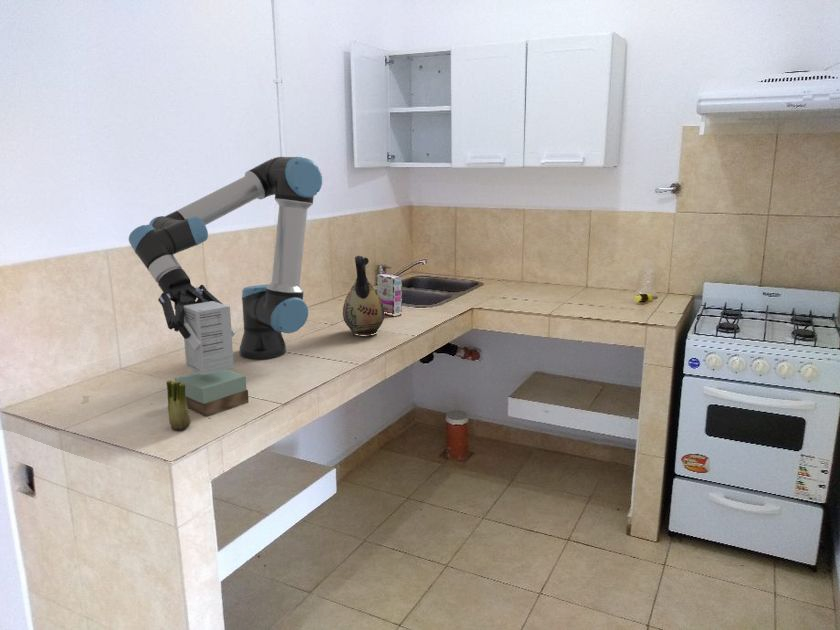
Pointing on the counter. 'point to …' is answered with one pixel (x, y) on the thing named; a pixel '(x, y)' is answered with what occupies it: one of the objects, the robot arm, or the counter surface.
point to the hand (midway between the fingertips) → (215, 341)
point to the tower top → (212, 385)
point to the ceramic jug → (363, 303)
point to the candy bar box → (390, 292)
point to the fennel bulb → (177, 406)
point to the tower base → (218, 404)
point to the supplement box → (209, 337)
